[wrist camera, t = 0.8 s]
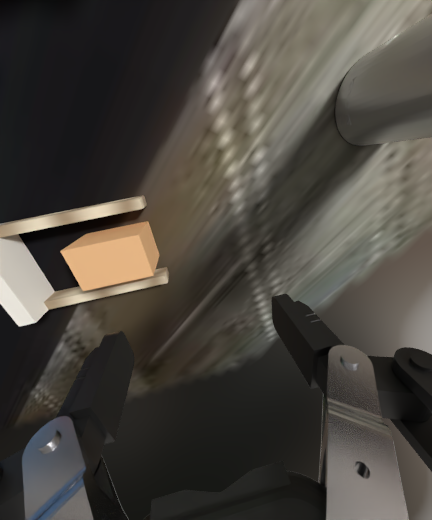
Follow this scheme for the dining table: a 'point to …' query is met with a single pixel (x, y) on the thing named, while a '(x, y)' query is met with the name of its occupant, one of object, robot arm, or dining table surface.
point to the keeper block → (113, 256)
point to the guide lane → (79, 215)
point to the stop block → (21, 282)
